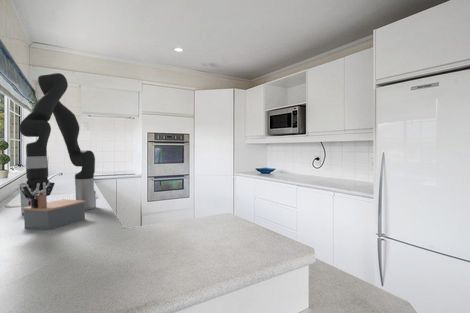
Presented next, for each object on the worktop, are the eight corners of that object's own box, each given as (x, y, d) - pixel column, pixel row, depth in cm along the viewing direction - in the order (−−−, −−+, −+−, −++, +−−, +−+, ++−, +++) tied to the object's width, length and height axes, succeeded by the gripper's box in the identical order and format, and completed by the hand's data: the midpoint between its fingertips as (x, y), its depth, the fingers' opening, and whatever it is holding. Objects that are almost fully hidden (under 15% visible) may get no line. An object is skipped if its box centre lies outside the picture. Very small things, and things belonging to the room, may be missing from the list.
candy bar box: (36, 209, 151) (35, 180, 150) (45, 209, 150) (44, 180, 150) (20, 213, 139) (19, 183, 139) (29, 213, 139) (28, 183, 139)
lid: (62, 204, 131) (62, 188, 131) (86, 205, 127) (85, 189, 126) (22, 213, 113) (21, 195, 113) (47, 215, 108) (47, 196, 108)
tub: (63, 217, 131) (62, 201, 130) (84, 218, 126) (84, 202, 126) (24, 227, 113) (23, 209, 113) (48, 230, 109) (47, 211, 109)
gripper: (46, 165, 120) (48, 203, 120) (13, 168, 106) (14, 210, 107) (59, 165, 117) (60, 204, 118) (26, 168, 104) (28, 211, 105)
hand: (38, 207), depth 112 cm, fingers closed on lid, 2 cm apart
